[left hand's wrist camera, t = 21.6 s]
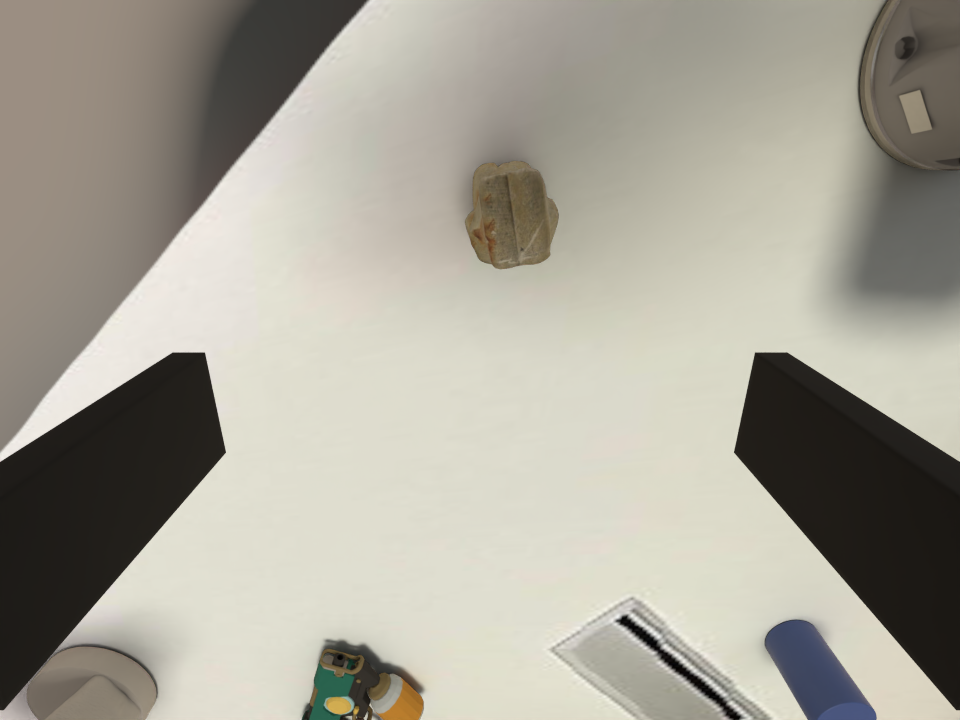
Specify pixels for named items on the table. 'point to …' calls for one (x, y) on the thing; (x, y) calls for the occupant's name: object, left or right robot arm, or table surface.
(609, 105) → the table surface
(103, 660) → the bust sculpture
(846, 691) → the canister
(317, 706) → the spray gun
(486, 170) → the sculpture
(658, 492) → the table surface
